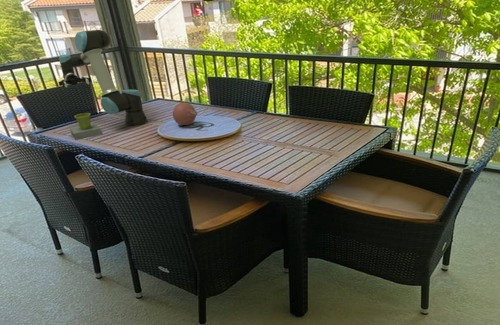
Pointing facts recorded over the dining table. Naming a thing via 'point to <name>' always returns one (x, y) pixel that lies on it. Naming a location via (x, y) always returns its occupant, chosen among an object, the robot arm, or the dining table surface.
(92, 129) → the block
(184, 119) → the brown egg-shaped ball
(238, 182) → the dining table surface
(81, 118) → the plant pot
